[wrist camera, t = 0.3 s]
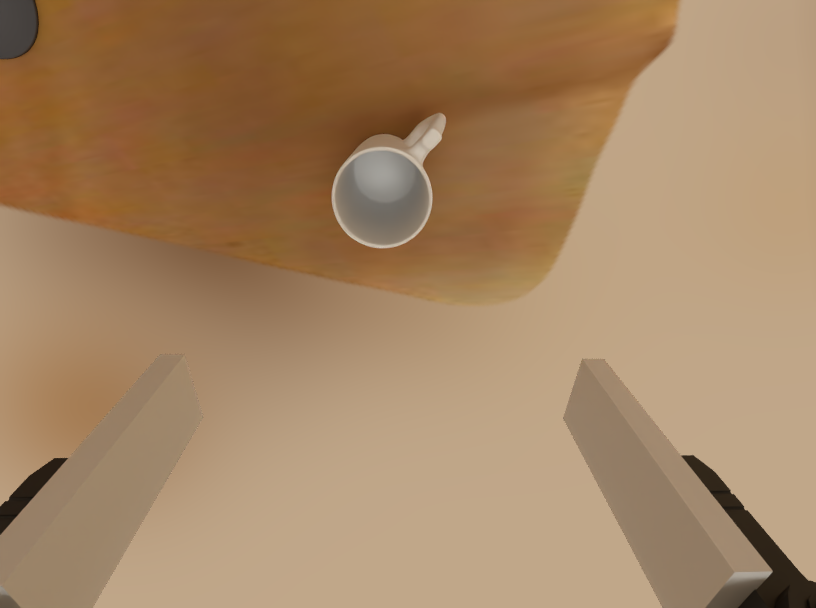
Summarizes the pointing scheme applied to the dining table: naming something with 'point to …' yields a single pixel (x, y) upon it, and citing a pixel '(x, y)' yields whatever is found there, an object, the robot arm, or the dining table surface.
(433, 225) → the dining table surface
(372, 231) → the mug
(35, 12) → the dark grey disc
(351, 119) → the dining table surface
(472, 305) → the dining table surface
